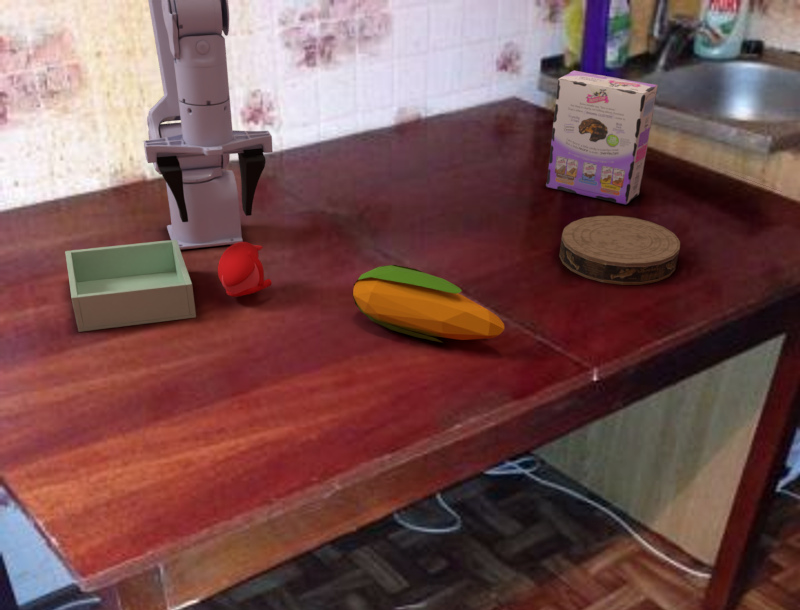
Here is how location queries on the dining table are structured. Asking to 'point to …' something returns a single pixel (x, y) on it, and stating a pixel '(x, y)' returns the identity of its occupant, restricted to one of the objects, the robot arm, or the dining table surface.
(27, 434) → the dining table surface
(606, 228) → the tin can
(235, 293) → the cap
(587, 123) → the candy box
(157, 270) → the bin
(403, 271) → the corn
